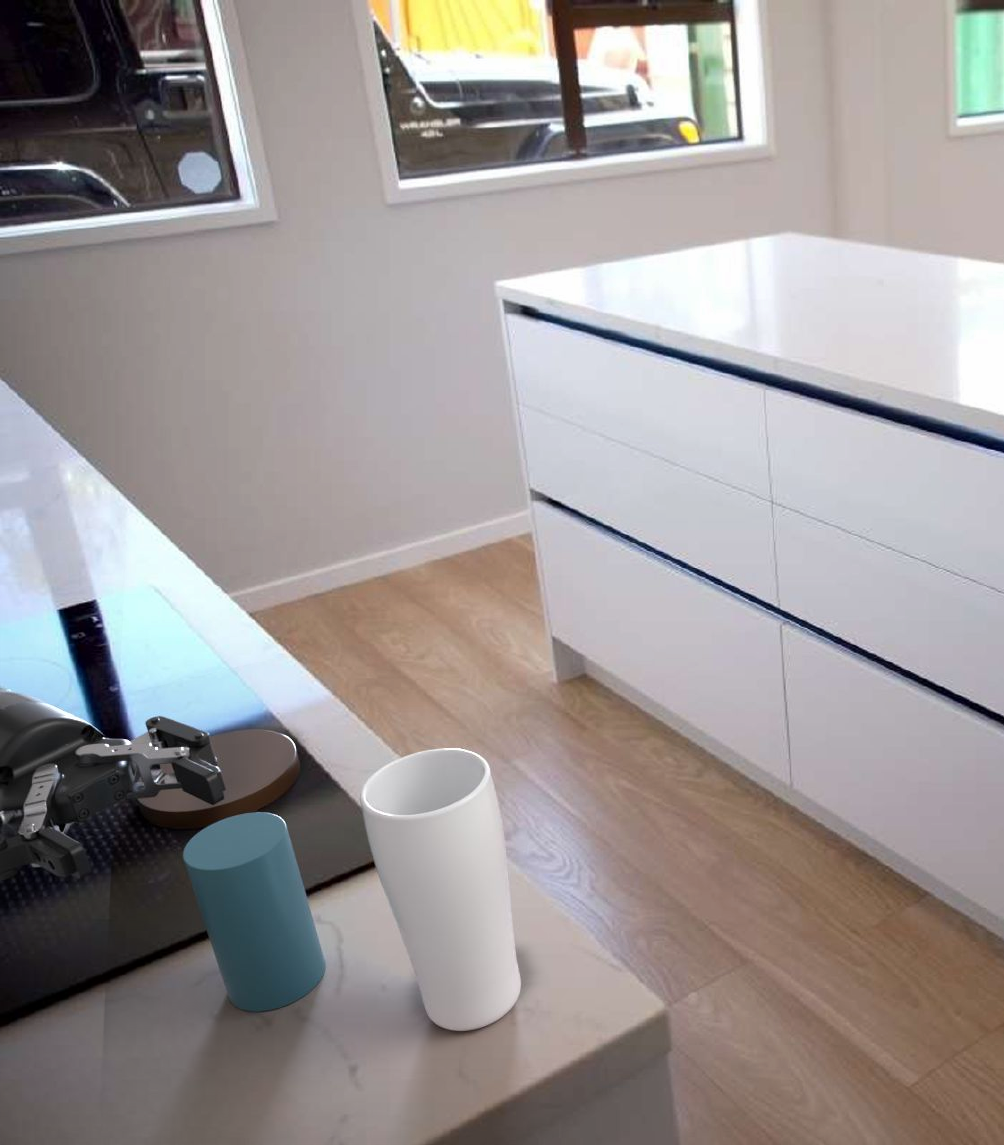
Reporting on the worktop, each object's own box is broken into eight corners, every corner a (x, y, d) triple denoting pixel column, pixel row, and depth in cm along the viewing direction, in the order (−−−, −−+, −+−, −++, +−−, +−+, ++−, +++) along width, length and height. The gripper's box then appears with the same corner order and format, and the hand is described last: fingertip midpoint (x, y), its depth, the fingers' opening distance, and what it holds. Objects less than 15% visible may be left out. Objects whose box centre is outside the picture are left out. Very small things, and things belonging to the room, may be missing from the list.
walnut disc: (139, 847, 90) (133, 829, 90) (140, 771, 99) (135, 755, 99) (307, 799, 95) (302, 782, 94) (293, 731, 104) (289, 715, 103)
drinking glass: (388, 1032, 73) (329, 808, 66) (458, 952, 78) (410, 739, 72) (493, 1056, 70) (442, 827, 64) (557, 972, 76) (516, 754, 70)
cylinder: (230, 1024, 74) (183, 881, 70) (226, 967, 78) (181, 830, 74) (330, 990, 76) (290, 850, 72) (320, 937, 80) (282, 801, 76)
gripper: (-120, 759, 81) (11, 835, 72) (105, 660, 91) (242, 717, 83) (-77, 858, 84) (53, 942, 75) (136, 751, 94) (271, 815, 86)
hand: (152, 824), depth 79 cm, fingers open, 8 cm apart
